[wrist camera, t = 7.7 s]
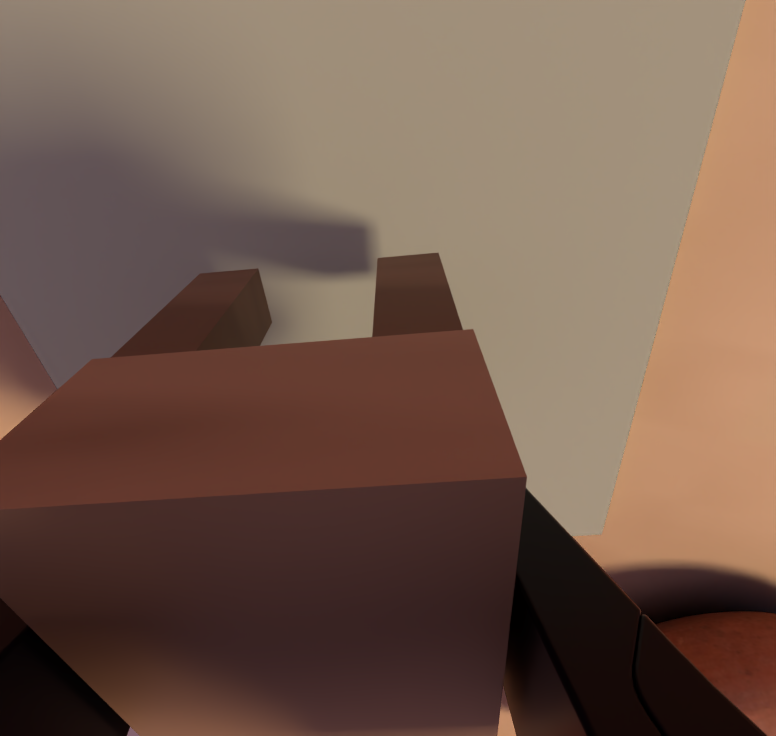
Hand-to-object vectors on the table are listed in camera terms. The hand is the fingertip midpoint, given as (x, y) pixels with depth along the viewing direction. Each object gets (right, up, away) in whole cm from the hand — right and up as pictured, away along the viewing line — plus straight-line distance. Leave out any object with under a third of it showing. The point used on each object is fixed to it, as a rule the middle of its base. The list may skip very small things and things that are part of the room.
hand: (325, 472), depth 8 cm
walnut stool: (0, +2, +2) cm, 3 cm away
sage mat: (0, +2, +4) cm, 5 cm away
